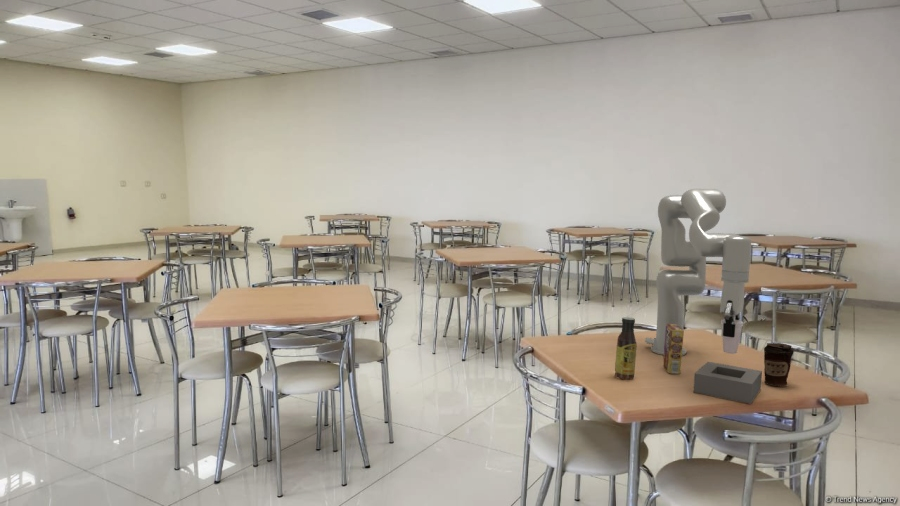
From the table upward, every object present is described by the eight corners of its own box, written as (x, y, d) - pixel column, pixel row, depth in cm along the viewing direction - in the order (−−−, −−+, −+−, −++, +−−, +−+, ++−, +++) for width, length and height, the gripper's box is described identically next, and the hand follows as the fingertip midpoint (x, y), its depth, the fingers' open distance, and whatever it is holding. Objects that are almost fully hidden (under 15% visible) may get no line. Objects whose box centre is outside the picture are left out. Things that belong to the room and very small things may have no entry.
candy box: (681, 374, 201) (684, 330, 199) (668, 373, 201) (670, 329, 200) (675, 366, 210) (677, 324, 208) (662, 366, 210) (665, 323, 208)
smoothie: (744, 355, 180) (747, 309, 178) (721, 354, 181) (724, 308, 179) (738, 349, 186) (741, 305, 184) (716, 348, 187) (719, 304, 186)
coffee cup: (790, 390, 186) (793, 349, 185) (760, 385, 190) (763, 345, 189) (791, 383, 193) (794, 343, 192) (762, 378, 198) (765, 340, 196)
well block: (693, 392, 183) (694, 373, 183) (706, 379, 196) (707, 361, 195) (750, 404, 174) (752, 384, 173) (760, 389, 187) (761, 370, 186)
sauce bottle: (624, 381, 193) (627, 321, 191) (610, 375, 198) (613, 317, 196) (639, 378, 196) (642, 319, 194) (625, 373, 201) (628, 315, 199)
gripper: (727, 272, 190) (724, 327, 192) (715, 278, 176) (711, 338, 178) (753, 274, 186) (750, 331, 188) (742, 281, 172) (738, 342, 174)
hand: (731, 333), depth 183 cm, fingers closed on smoothie, 6 cm apart
